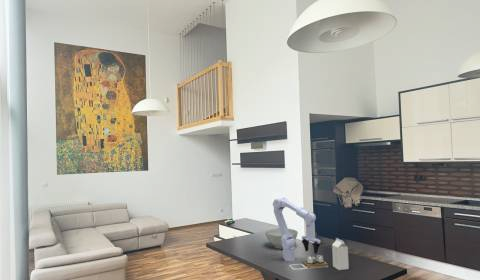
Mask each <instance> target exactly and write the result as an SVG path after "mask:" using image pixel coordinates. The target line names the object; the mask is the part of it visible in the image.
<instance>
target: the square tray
mask: <svg viewBox="0 0 480 280" xmlns="http://www.w3.org/2000/svg"><path fill="white" fill-rule="evenodd" d="M293 266H302V267H301V268H300V267H299V268H294V267H293ZM288 267H289V268H290V269H291V270H292V271H295V270H296V271H297V270H305V269H306V270H308V269H307V268H306V267H305V266H304V263H295V264H293V263H292V264H288Z"/></svg>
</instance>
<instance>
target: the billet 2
mask: <svg viewBox="0 0 480 280" xmlns="http://www.w3.org/2000/svg"><path fill="white" fill-rule="evenodd" d="M323 256H324V255H323V254H322V255H321V254H318V255H317V254H316V258H317V264H322V263H323V261H324V257H323Z"/></svg>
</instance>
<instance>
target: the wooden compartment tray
mask: <svg viewBox="0 0 480 280" xmlns="http://www.w3.org/2000/svg"><path fill="white" fill-rule="evenodd" d="M303 265H304V266H305V267H306V268H307V269H306V270H310V269H319V268H320V269H321V268H328V267H329V266H328V263H327V262H326V261H325V260H323V263H322V264H317V261H313V264H312V265H309V264H307V261H303Z"/></svg>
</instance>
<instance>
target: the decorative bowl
mask: <svg viewBox="0 0 480 280" xmlns="http://www.w3.org/2000/svg"><path fill="white" fill-rule="evenodd" d="M288 230H289V233H290V234H291V235H292V236H293V238H294V239H295V241H296V240H297V237H298V233H299V232H298V230H295V229H291V228H288ZM264 234H265V237H266V239H267V240H268V242H269V243H270V244H271V245H273V247H274V248H276V249H279V250H280V249H281V250H283V247H282V241H281V238H282V234H281V231H280V228H279V227H278V228H271V229H266V230H265V231H264Z"/></svg>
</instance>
